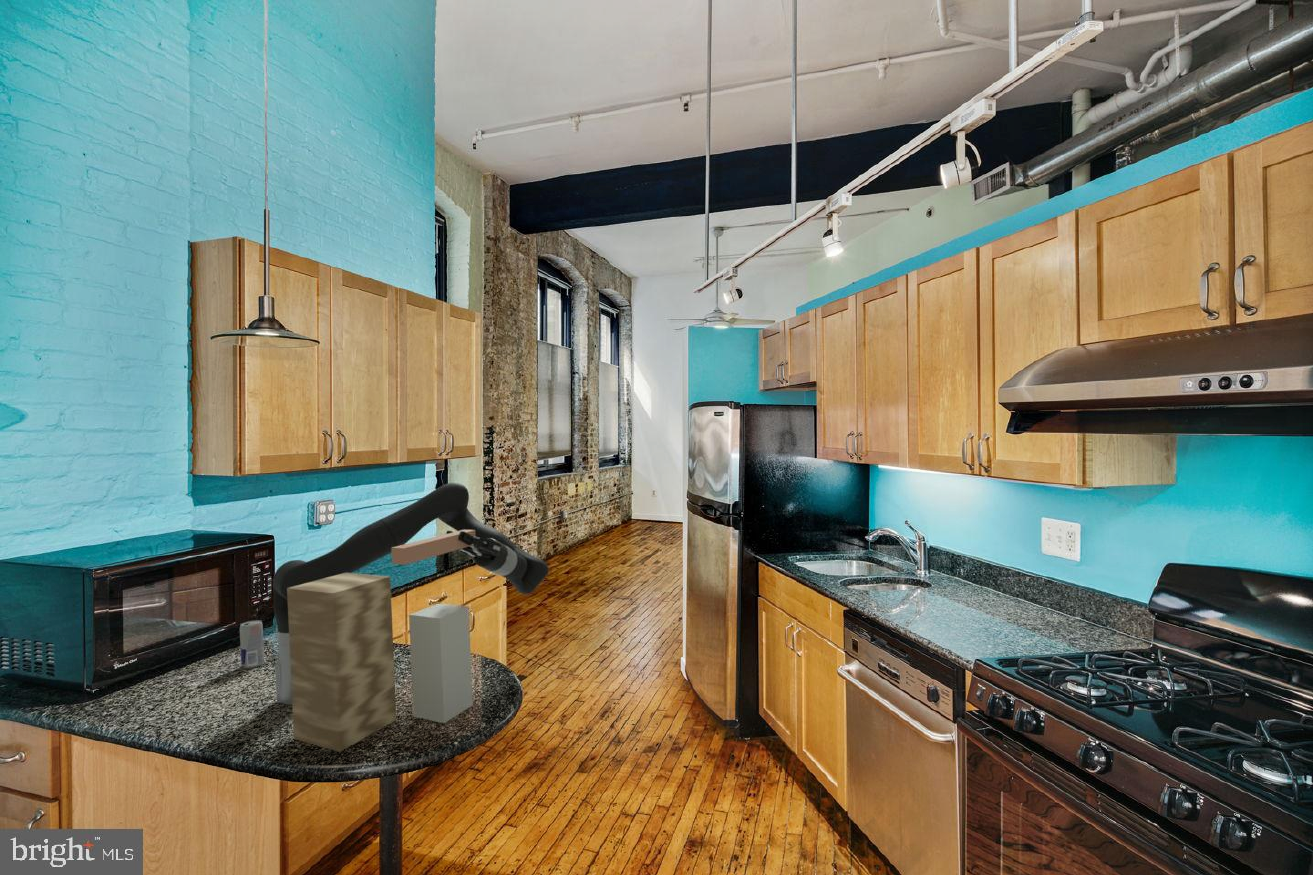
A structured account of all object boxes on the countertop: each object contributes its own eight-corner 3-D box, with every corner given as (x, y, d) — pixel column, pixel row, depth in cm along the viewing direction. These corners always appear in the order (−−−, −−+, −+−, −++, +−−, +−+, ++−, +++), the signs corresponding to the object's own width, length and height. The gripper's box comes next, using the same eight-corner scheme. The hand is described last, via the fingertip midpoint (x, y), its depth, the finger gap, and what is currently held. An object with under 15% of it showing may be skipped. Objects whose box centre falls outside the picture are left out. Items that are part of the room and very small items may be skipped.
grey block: (443, 699, 141) (438, 603, 141) (472, 705, 138) (468, 606, 137) (413, 716, 133) (409, 614, 133) (444, 723, 130) (439, 618, 129)
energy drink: (248, 662, 171) (246, 620, 171) (268, 660, 171) (266, 619, 171) (237, 669, 165) (235, 626, 165) (257, 668, 166) (255, 625, 166)
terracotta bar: (464, 543, 146) (463, 529, 146) (475, 544, 145) (475, 530, 145) (392, 563, 126) (391, 547, 126) (404, 564, 125) (403, 548, 125)
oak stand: (352, 709, 138) (346, 572, 137) (396, 719, 132) (390, 576, 132) (294, 739, 125) (286, 588, 125) (340, 751, 119) (332, 593, 119)
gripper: (478, 542, 159) (435, 519, 145) (522, 544, 153) (482, 520, 139) (470, 569, 155) (425, 548, 141) (514, 573, 150) (472, 551, 136)
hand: (453, 534), depth 140 cm, fingers closed on terracotta bar, 3 cm apart
